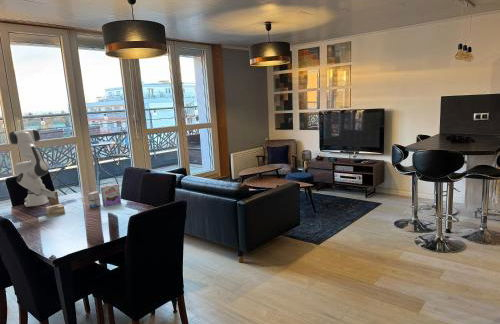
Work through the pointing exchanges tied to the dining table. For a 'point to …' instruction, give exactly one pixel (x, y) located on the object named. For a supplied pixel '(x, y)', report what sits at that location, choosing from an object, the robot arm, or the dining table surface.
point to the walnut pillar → (54, 201)
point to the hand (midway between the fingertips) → (54, 197)
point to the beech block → (55, 210)
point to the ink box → (94, 199)
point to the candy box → (110, 195)
